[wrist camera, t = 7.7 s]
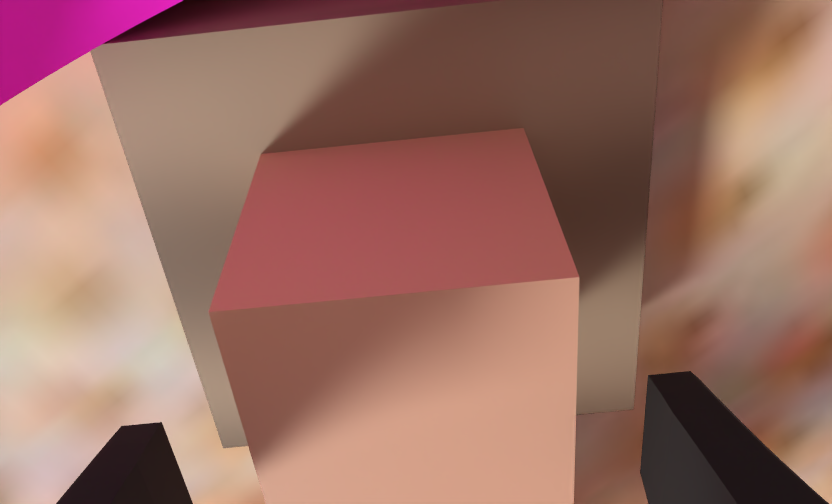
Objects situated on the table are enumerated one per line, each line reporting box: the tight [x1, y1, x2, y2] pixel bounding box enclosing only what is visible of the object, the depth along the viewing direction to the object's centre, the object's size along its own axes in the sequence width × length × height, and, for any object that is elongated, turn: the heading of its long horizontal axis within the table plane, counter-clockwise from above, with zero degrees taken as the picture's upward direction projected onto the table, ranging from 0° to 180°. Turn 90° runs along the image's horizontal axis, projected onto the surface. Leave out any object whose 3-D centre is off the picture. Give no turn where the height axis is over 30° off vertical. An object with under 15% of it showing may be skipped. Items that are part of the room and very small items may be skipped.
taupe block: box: [90, 0, 663, 448], centre depth 17 cm, size 10×10×3 cm
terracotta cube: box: [208, 128, 579, 504], centre depth 14 cm, size 5×5×5 cm
